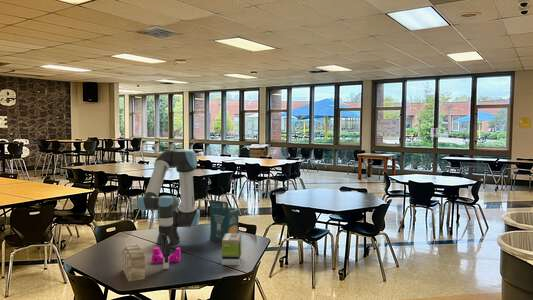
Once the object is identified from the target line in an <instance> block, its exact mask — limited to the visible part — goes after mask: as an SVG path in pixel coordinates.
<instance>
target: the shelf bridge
mask: <svg viewBox="0 0 533 300" xmlns="http://www.w3.org/2000/svg"><path fill="white" fill-rule="evenodd" d="M145 257H146V256H145V254H144V252H143V250H142V249H141V247H140V246H139V244H138V243H134V244H133V243H131V244H126V245H125V247H122V271H124V272H123V274H124V273H125V274H124V275H126V276H125V277H126V280H127V281H128V282H132V281H139V280H145V279H146V276H145V274H146V269H145V268H146V259H145Z"/></svg>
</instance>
